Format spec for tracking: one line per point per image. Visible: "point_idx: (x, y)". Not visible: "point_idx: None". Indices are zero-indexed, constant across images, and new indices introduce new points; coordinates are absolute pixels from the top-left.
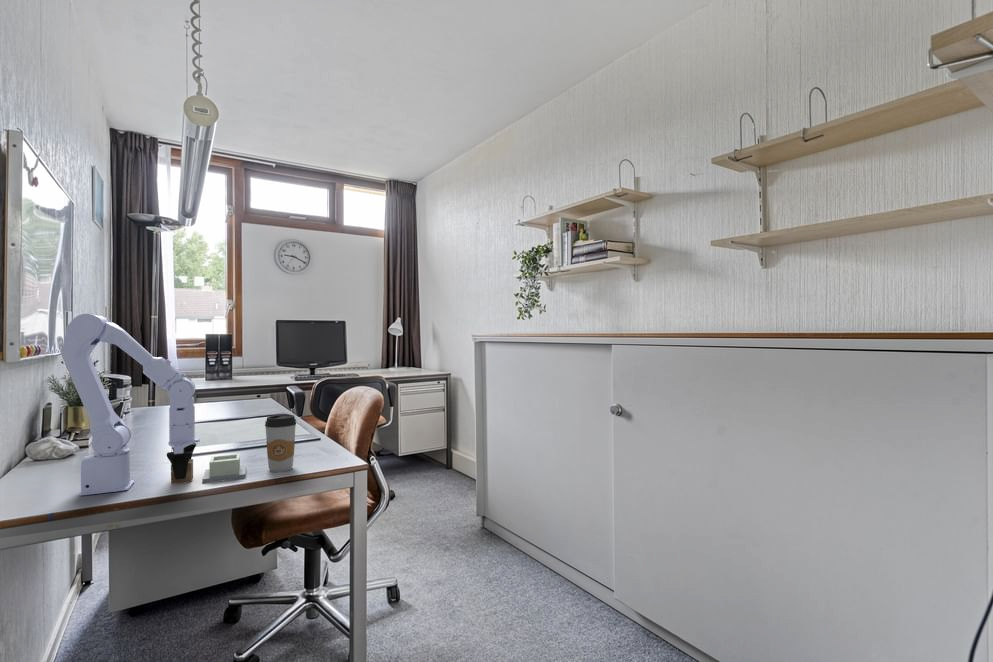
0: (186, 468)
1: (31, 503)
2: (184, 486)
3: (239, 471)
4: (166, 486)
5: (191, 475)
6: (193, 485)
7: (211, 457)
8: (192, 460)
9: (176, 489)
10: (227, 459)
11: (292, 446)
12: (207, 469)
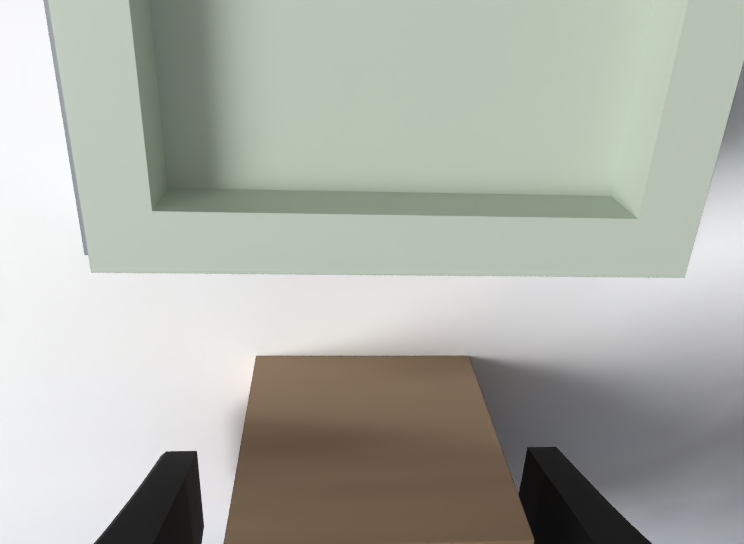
0: (642, 535)
1: None
2: (630, 397)
3: None
4: None
5: (457, 398)
6: (654, 321)
7: (190, 267)
8: (323, 542)
9: (696, 448)
10: None
11: None
12: (83, 232)
